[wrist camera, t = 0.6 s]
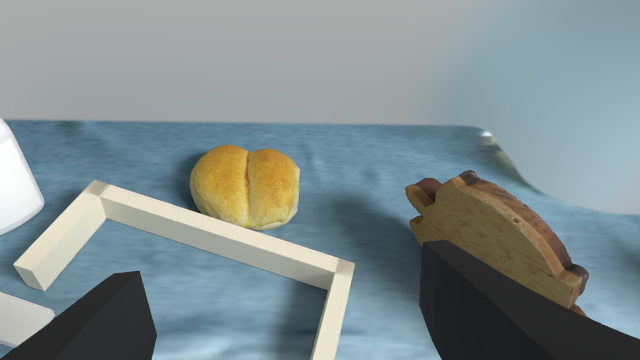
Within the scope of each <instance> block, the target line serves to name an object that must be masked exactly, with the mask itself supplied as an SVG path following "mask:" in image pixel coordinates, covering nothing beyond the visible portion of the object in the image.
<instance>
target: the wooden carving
mask: <svg viewBox="0 0 640 360" xmlns="http://www.w3.org/2000/svg"><path fill="white" fill-rule="evenodd" d="M405 190H406V195H407V198H408V200H409V202H410V203H411V204H412V205H413V207H414V208H415V209H416V210H417V211H418V212H419V213H420V214H421V215H420V216H417V217H415V218H414V219H412V220H410V222H409V223H410V226H411V228H412V231H413V233H414V235H415V237H416V239H417V241H418V243H419V244H420V246H421V248H422V244H423V242H427V241H437V240H447V241H449V242H451V243H453V244H455V245H456V246H458V247H460V248H461V249H463V250H465V251H466V252H468V253H470V254H471V255H473V256H475V257H476V258H478V259H479V260H481V261H483V262H484V263H486V264H488V265H489V266H491V267H493V268H494V269H496V270H498V271H499V272H501V273H503V274H504V275H506V276H508V277H510V278H511V279H513V280H515V281H516V282H518V283H520V284H522V285H524V286H525V287H527V288H529V289H531V290H533V291H535V292H537V293H538V294H540V295H542V296H544V297H546V298H548V299H550V300H552V301H554V302H556V303H558V304H560V305H562V306H564V307H566V308H568V309H570V310H572V311H574V312H576V313H578V314H581V315H583V316H585V317H587V316H586V315H585V313H584V312H583V311H582V310H581V308H580V307H578V306H577V305H575V304H574V303H575V301H576V299H577V297H578V296H580V295H581V294H582V293H583V291H584V289H585V285H586V282H587V280H588V278H589V273H588V272H587V270H585V269H584V268H583V267H581V266H579V265H576V264H572V262H571V258H570V257H569V255H568V253H567V250H566V248H565V246H564V244H563V243H562V242H561V241H560V240H559V238H558V237H557V235H556V234H555V233H553V232H552V230H551V229H550V227H549V226H548V225H547V224H546V223H545V222H544V221H543V220H542V219H541V217H540V216H539V215H538V214H537V213H536V212H534V211H533V210H531V209H530V208H529V207H528V206H527V205H525V204H523V203H522V202H521V201H519V200H517V198H516V197H515V196H513V195H511V194H510V193H508V192H507V191H506V190H505V189H503V188H501V187H498V186H497V185H496V184H494V183H492V182H488V181H486V180H483V179H480V178H479V177H478V176H477V175H476V173H475V172H474V171H472V170H468V171H465V172H463V173H462V174H460V175H459V176H456V177H454V178H452V179H450V180H449V181H447V182H445V183H443V184H441V183H440V182H439V181H437V180H436V179H434V178H425V179H423V180H421V181H420V182H418V183H416V184H413V185H409V186H407V187H406V189H405ZM587 318H588V317H587Z"/></svg>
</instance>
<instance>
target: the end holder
mask: <svg viewBox="0 0 640 360" xmlns="http://www.w3.org/2000/svg"><path fill="white" fill-rule="evenodd" d="M106 218H107V219H110V220H113V221H116V222H119V223H122V224H125V225H128V226H131V227H134V228H137V229H140V230H144V231H147V232H150V233H153V234H156V235H159V236H162V237H165V238H168V239H171V240H174V241H177V242H180V243H184V244H187V245H190V246H193V247H196V248H199V249H202V250H205V251H208V252H211V253H214V254H217V255H220V256H223V257H227V258H230V259H233V260H236V261H239V262H242V263H245V264H248V265H251V266H254V267H257V268H260V269H263V270H267V271H270V272H273V273H276V274H279V275H282V276H285V277H288V278H291V279H294V280H297V281H300V282H303V283H306V284H310V285H313V286H316V287H319V288H322V289H325V290H328V292H327V296H326V300H325V303H324V307H323V311H322V315H321V319H320V322H319V326H318V330H317V334H316V338H315V341H314V345H313V349H312V353H311V357H310V360H334V358H335V353H336V349H337V344H338V340H339V335H340V331H341V326H342V321H343V317H344V312H345V308H346V303H347V299H348V294H349V289H350V285H351V280H352V276H353V271H354V267H355V263H352V262H349V261H346V260H343V259H340V258H337V257H333V256H330V255H327V254H324V253H321V252H318V251H315V250H312V249H309V248H305V247H302V246H299V245H296V244H293V243H290V242H287V241H284V240H281V239H277V238H274V237H271V236H268V235H265V234H262V233H259V232H256V231H253V230H249V229H246V228H243V227H240V226H237V225H234V224H231V223H228V222H225V221H221V220H218V219H215V218H212V217H209V216H206V215H203V214H200V213H197V212H193V211H190V210H187V209H184V208H181V207H178V206H175V205H172V204H169V203H165V202H162V201H159V200H156V199H153V198H150V197H147V196H144V195H141V194H137V193H134V192H131V191H128V190H125V189H122V188H119V187H116V186H113V185H109V184H106V183H103V182H100V181H97V180H94V181H93V182H92V183H91V184H90V185H89V186H88V187H87V188H86V189H85V190H84V191H83V192H82V193H81V194H80V195H79V196H78V197H77V198H76V199H75V200H74V201H73V202H72V204H71V205H70V206H69V207H68V208H67V209H66V210H65V211H64V212H63V213H62V214H61V215H60V216H59V217H58V218H57V219H56V220H55V221H54V222H53V223H52V224H51V225H50V226H49V228H48V229H47V230H46V231H45V232H44V233H43V234H42V235H41V236H40V237H39V238H38V239H37V240H36V241H35V242H34V243H33V244H32V245H31V246H30V247H29V248H28V249H27V251H26V252H25V253H24V254H23V255H22V256H21V257H20V258H19V259H18V260H17V261H16V262H15V263H14V264H13V265H14V267H15V268H16V270H17V271H18V273H19V274H20V276H21V277H22V279H23V280H24V282H25V283H26V285H27V286H29V287H32V288H35V289H38V290H41V291H44V292H45V291H46V290H47V288H48V287H49V286H50V285H51V284H52V282H53V281H54V280H55V279H56V278H57V276H58V275H59V274H60V273H61V272H62V271H63V269H64V268H65V267H66V266H67V265H68V263H69V262H70V261H71V260H72V259H73V257H74V256H75V255H76V254H77V253H78V251H79V250H80V249H81V248H82V247H83V246H84V244H85V243H86V242H87V241H88V240H89V238H90V237H91V236H92V235H93V234H94V232H95V231H96V230H97V229H98V228H99V226H100V225H101V224H102V223H103V222H104V221H105V219H106Z"/></svg>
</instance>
